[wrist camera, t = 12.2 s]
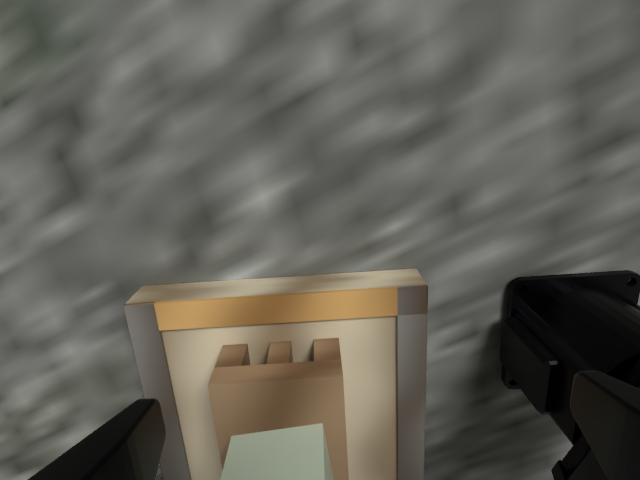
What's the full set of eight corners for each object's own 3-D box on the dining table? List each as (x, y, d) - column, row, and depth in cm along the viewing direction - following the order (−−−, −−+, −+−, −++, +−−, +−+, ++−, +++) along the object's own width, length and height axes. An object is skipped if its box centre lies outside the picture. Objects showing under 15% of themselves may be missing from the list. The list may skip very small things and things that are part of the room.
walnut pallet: (338, 337, 20) (343, 376, 17) (346, 481, 22) (351, 535, 20) (222, 345, 20) (207, 385, 17) (244, 488, 22) (235, 543, 20)
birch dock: (416, 268, 21) (428, 286, 19) (414, 480, 25) (423, 514, 23) (142, 286, 21) (123, 305, 19) (186, 494, 25) (174, 530, 23)
